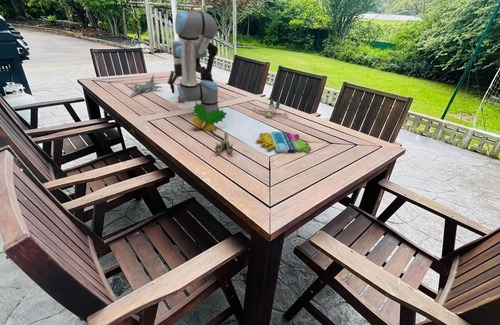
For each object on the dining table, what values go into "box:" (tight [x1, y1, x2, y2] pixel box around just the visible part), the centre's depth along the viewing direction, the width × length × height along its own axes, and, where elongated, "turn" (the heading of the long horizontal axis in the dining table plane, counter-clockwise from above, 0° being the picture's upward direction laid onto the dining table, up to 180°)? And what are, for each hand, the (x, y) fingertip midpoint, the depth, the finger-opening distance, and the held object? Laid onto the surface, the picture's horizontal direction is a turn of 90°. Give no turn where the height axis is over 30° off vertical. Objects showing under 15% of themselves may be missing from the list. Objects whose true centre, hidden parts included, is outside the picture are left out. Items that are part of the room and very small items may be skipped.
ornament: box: [191, 101, 228, 132], centre depth 162 cm, size 21×8×15 cm, turn 105°
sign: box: [256, 131, 312, 154], centre depth 152 cm, size 26×2×30 cm
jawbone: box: [214, 131, 234, 156], centre depth 136 cm, size 9×15×10 cm
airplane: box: [128, 74, 161, 97], centre depth 228 cm, size 38×31×10 cm
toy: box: [251, 98, 290, 118], centre depth 199 cm, size 28×7×30 cm
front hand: (181, 92), depth 206 cm, fingers open, 13 cm apart
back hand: (197, 81), depth 232 cm, fingers open, 9 cm apart
